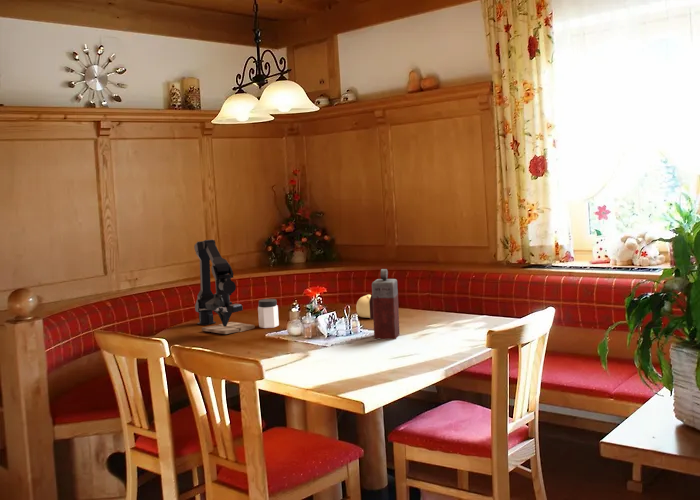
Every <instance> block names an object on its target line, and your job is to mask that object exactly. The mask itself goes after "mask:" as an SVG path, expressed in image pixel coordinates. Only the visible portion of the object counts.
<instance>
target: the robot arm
mask: <svg viewBox="0 0 700 500" xmlns="http://www.w3.org/2000/svg"><path fill="white" fill-rule="evenodd" d="M194 251H195V255H196V256H197V257H198V260H199V273H200V274H199V276H200V290H199V292H198V293H197V296H196V297H197V298H196V302H195V304H194V308H195V312H197V313H198V319H199V320H198V321H199V322H197V323H196V324H197V325H201V326H207V325H212V324H216V323H217V322H216V321H214V314H213V312H214V313H216V314H217V315H218V317H219V319H220V321H221V324H223V326H227V323H228V322H230V321H229V320H230V318H231V317H232V315H233V313H237V312H238V313H239V312H242V311H244V310H243V307H244V306H243V305H242V304H241V303H233V302H232V301H231V299H230V298H231V297H230V296H232V294H233V293H234V292H235V291H236V289H237V286H236V283H235V282H234V280H232V279H233V278H234V272H233V268H232V266H231V264H230V263H229V262H228V260H227V259H225V258H223V257H222V255H221V252H220V251H219V249H218V247H217V245H216V240H215V239H205V240H201V241H196V243H195V244H194ZM210 265H211V266H210ZM211 274H212V276H213V278H214V280H215V281H214V282H215V293H213V292H212V290H211V289H212V287H211Z"/></svg>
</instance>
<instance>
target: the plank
mask: <svg viewBox="0 0 700 500" xmlns="http://www.w3.org/2000/svg"><path fill="white" fill-rule="evenodd" d="M201 332H209V333H210V332H211V333H216V334H222V335H228V334H234V333H240V332H239V329H236V328H229V327H223V326H218V325H210V326H205V327H201Z"/></svg>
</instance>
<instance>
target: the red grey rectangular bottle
mask: <svg viewBox="0 0 700 500" xmlns="http://www.w3.org/2000/svg"><path fill="white" fill-rule="evenodd" d="M388 275H389V271H388V269H387V268H381V269H380V278H377V279H375V280H374V281H372V283H371V294H370V295H371V297H370V301H369V305H370V318H369V319H370V320H373V335H374V336H373V337H374V339H375V340H397V339H398V337H399V336H400V313H399V312H400V311H399V290H398V279H396V278H388V277H389V276H388Z"/></svg>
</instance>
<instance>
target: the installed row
mask: <svg viewBox="0 0 700 500" xmlns="http://www.w3.org/2000/svg"><path fill="white" fill-rule="evenodd" d="M217 326H223V324H222V323H220V324H217ZM223 327H229V328H236V329H239V332H238V333H241V332H242V333H243V332H245V331H250V330H252V329H253V330H254V329H255V327H256V326H255V324H250V323H243V322H236V321H228V323H227V326H223Z"/></svg>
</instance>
